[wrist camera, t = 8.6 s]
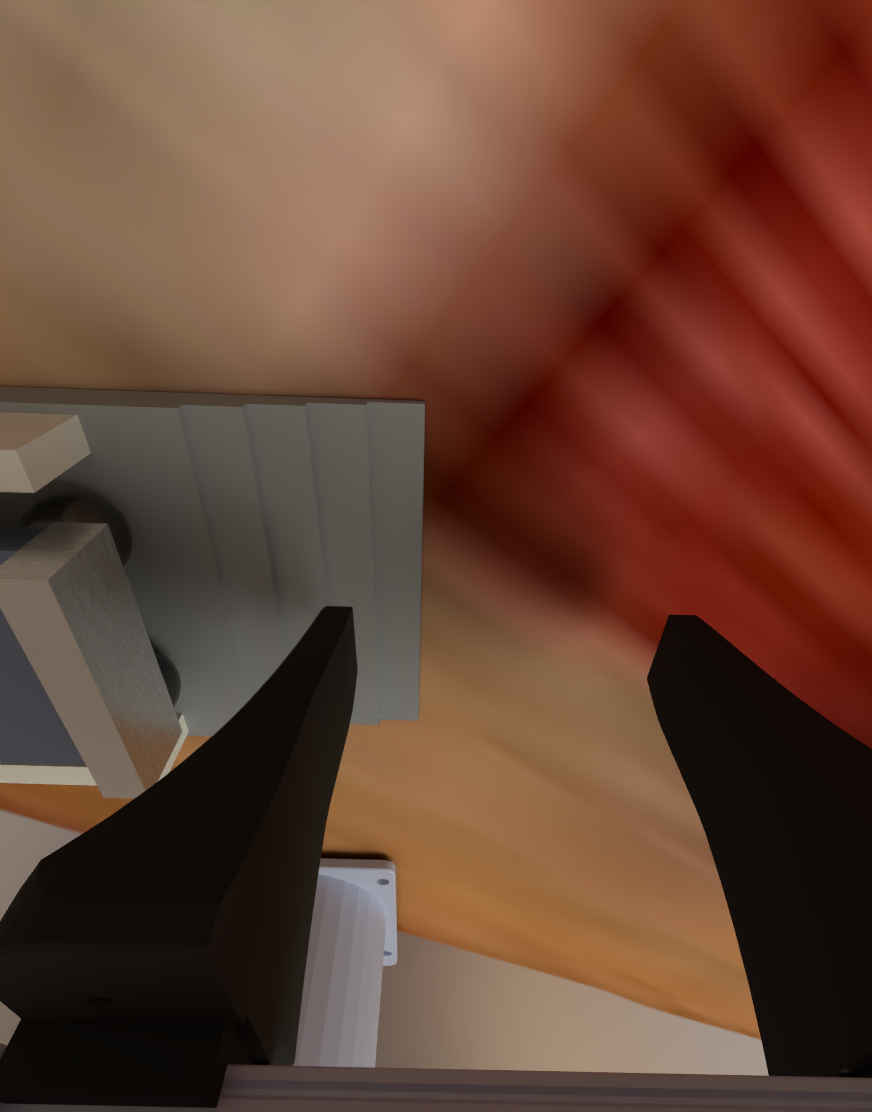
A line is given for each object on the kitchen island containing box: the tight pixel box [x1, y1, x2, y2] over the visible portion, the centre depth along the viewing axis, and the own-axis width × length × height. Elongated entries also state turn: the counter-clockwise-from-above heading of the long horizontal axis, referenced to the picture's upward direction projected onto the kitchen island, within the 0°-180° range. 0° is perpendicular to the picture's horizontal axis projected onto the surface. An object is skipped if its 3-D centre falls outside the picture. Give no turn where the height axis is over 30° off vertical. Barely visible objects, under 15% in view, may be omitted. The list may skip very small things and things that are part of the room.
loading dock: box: [0, 386, 425, 785], centre depth 12 cm, size 10×16×4 cm, turn 88°
